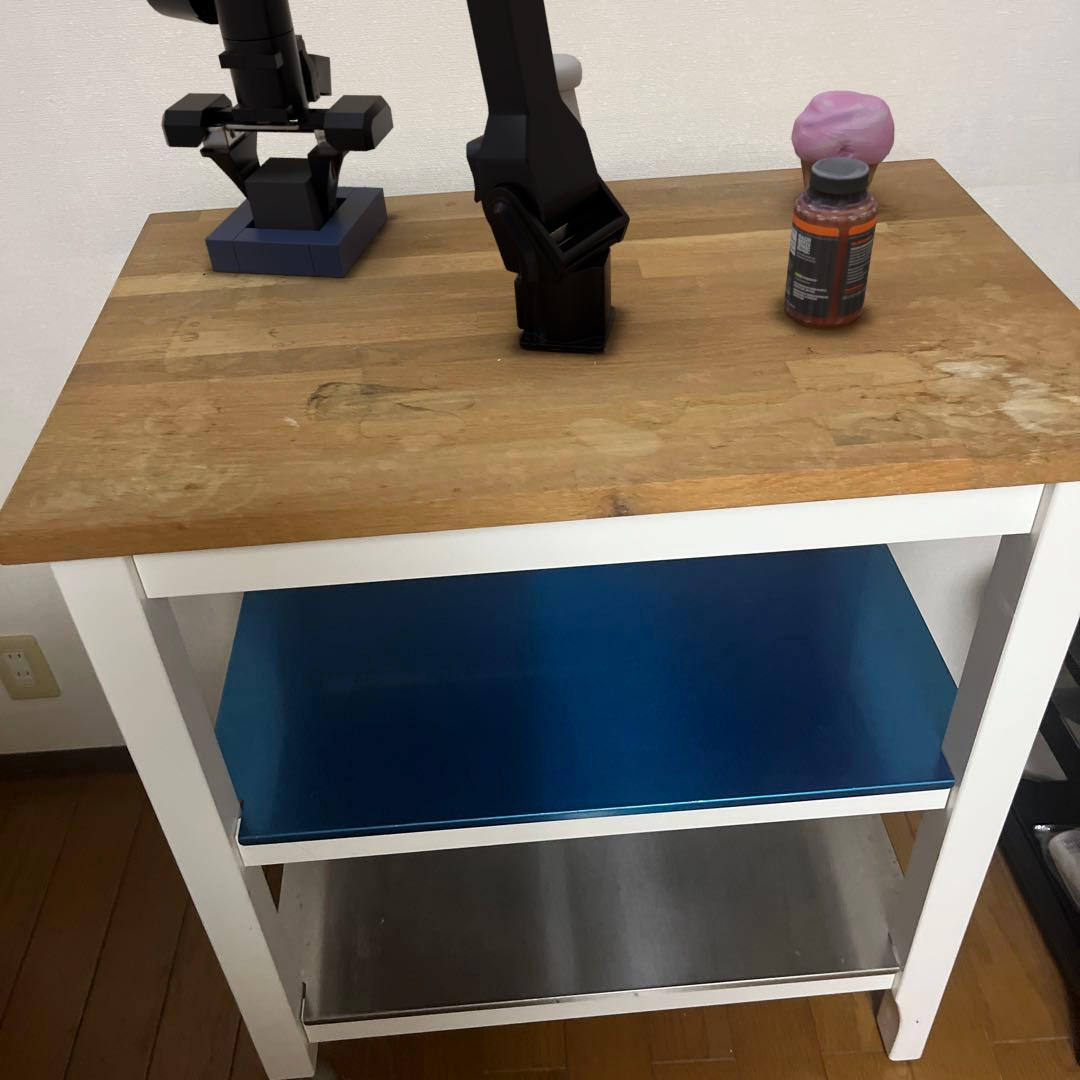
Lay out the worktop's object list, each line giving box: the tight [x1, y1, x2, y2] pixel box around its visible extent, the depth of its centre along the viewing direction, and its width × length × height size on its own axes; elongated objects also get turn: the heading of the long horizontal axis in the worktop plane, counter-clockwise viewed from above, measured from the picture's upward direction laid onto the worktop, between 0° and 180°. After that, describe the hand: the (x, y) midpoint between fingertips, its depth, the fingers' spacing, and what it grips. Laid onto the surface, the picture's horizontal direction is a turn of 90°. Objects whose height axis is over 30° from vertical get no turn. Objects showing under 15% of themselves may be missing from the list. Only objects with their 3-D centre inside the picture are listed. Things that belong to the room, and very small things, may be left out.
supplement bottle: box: [783, 157, 879, 328], centre depth 76 cm, size 6×6×11 cm
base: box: [204, 185, 389, 278], centre depth 93 cm, size 12×12×3 cm
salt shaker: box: [553, 53, 583, 126], centre depth 94 cm, size 6×6×13 cm
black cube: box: [244, 156, 338, 231], centre depth 91 cm, size 6×6×6 cm
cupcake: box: [790, 90, 896, 192], centre depth 91 cm, size 9×9×10 cm
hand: (298, 218), depth 92 cm, fingers closed on black cube, 6 cm apart
